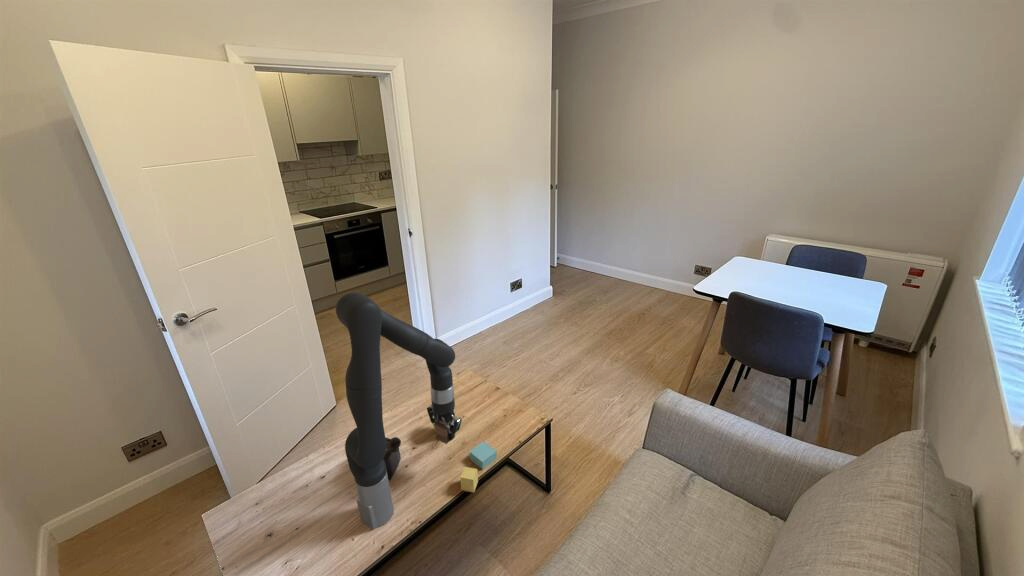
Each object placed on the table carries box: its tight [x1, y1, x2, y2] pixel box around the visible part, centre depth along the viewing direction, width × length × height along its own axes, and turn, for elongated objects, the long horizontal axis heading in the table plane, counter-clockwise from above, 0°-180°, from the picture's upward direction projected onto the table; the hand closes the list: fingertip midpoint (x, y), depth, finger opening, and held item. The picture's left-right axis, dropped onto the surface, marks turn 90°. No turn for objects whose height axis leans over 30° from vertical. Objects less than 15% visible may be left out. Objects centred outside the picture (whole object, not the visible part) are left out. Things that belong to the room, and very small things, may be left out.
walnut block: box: [435, 421, 451, 445], centre depth 141 cm, size 4×4×6 cm
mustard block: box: [460, 466, 479, 493], centre depth 139 cm, size 4×4×6 cm
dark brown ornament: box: [383, 436, 402, 481], centre depth 144 cm, size 16×11×18 cm
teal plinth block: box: [469, 441, 498, 470], centre depth 151 cm, size 7×7×4 cm
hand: (445, 436), depth 141 cm, fingers closed on walnut block, 4 cm apart
